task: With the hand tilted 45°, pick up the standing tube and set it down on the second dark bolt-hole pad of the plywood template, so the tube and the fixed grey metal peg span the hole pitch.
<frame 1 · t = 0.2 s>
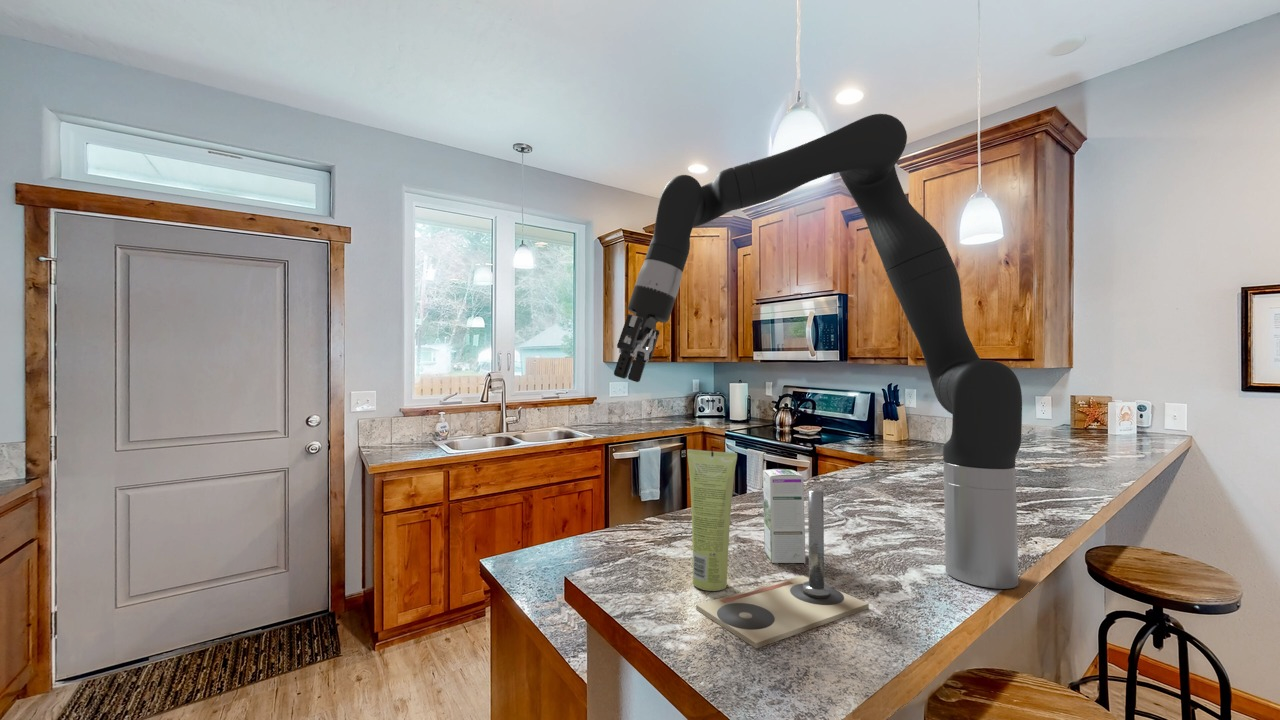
hand: (626, 379, 87), 30 cm above the counter, tool tilted 20°, fingers open, 8 cm apart
tube: (711, 587, 72), on the counter
syrup box: (783, 559, 84), on the counter
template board: (782, 608, 65), on the counter
fixed peg: (816, 598, 68), resting on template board
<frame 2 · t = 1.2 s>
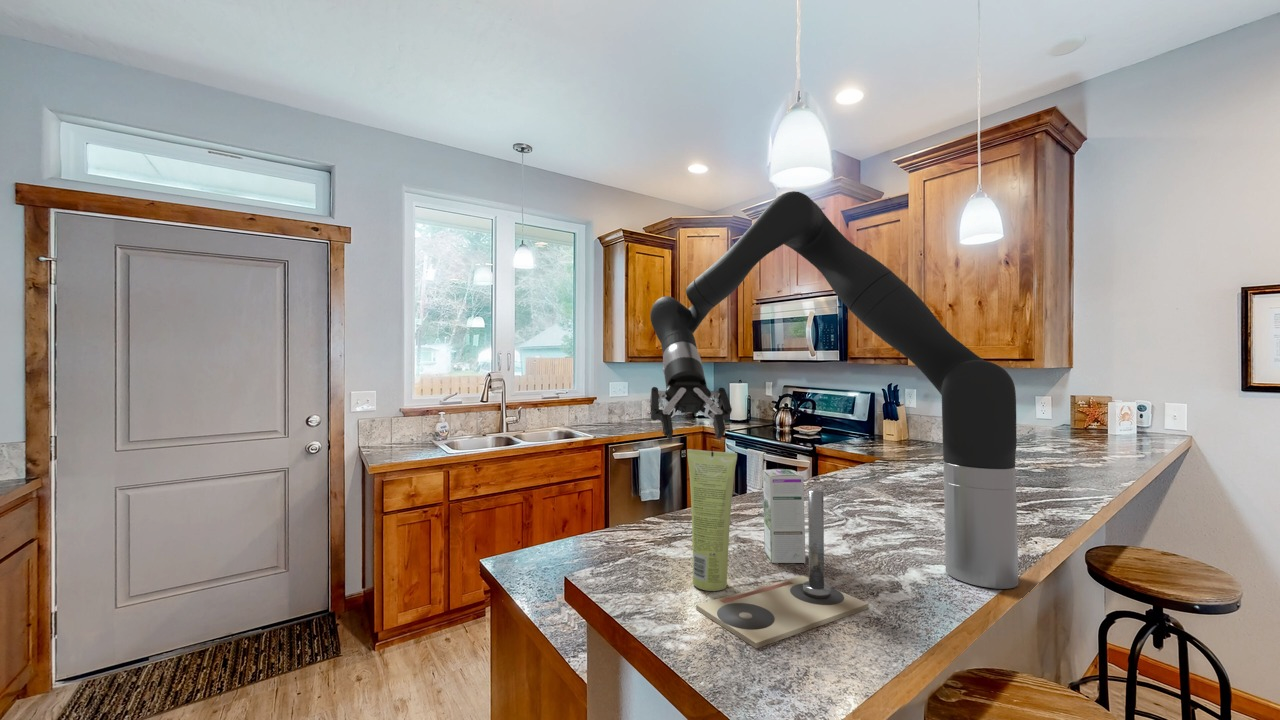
hand: (695, 435, 85), 20 cm above the counter, tool tilted 45°, fingers open, 8 cm apart
nothing on the counter moved.
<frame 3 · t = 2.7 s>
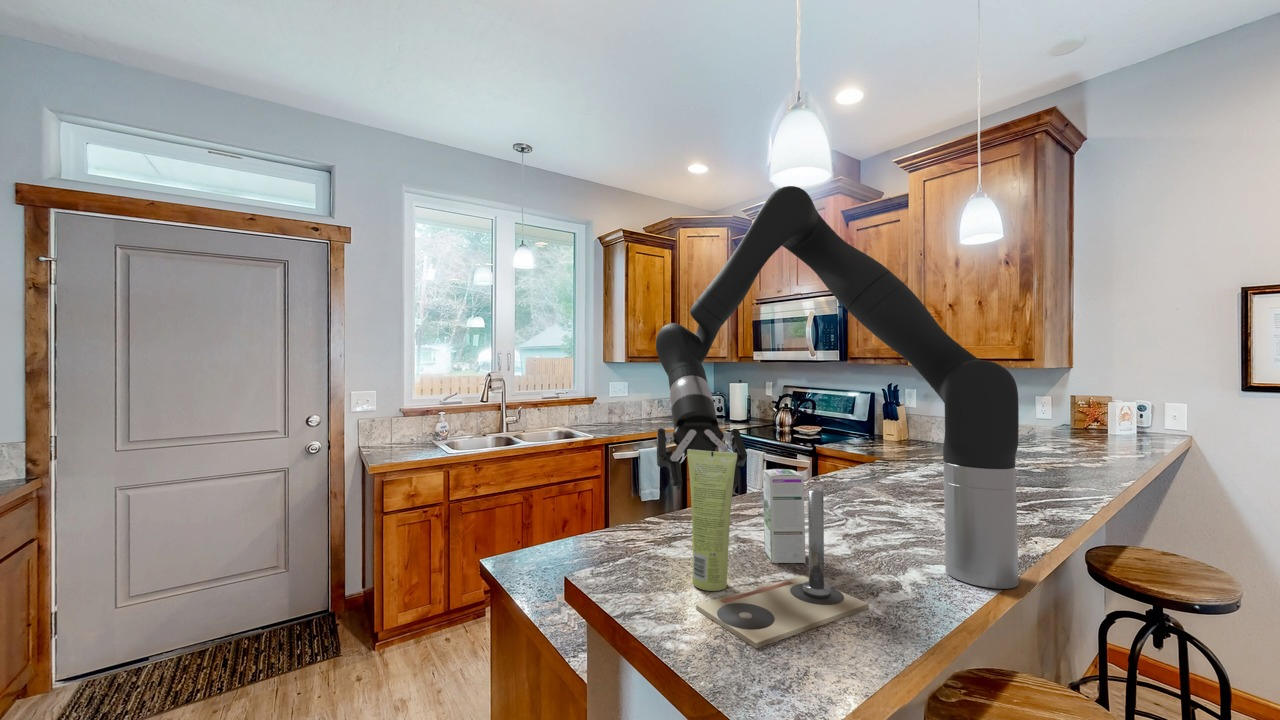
hand: (707, 486, 76), 14 cm above the counter, tool tilted 45°, fingers open, 8 cm apart
nothing on the counter moved.
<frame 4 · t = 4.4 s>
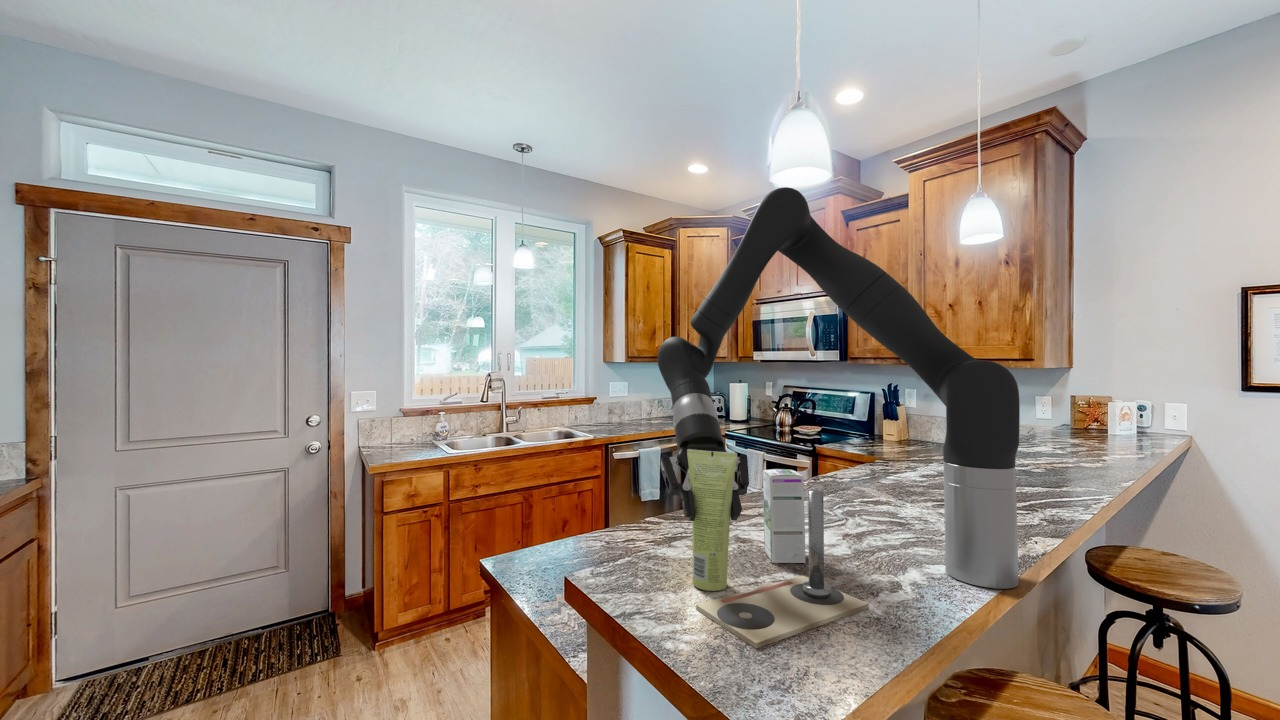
hand: (714, 517, 71), 10 cm above the counter, tool tilted 45°, fingers closed on tube, 5 cm apart
tube: (711, 587, 72), on the counter, touching gripper
everything else where it was.
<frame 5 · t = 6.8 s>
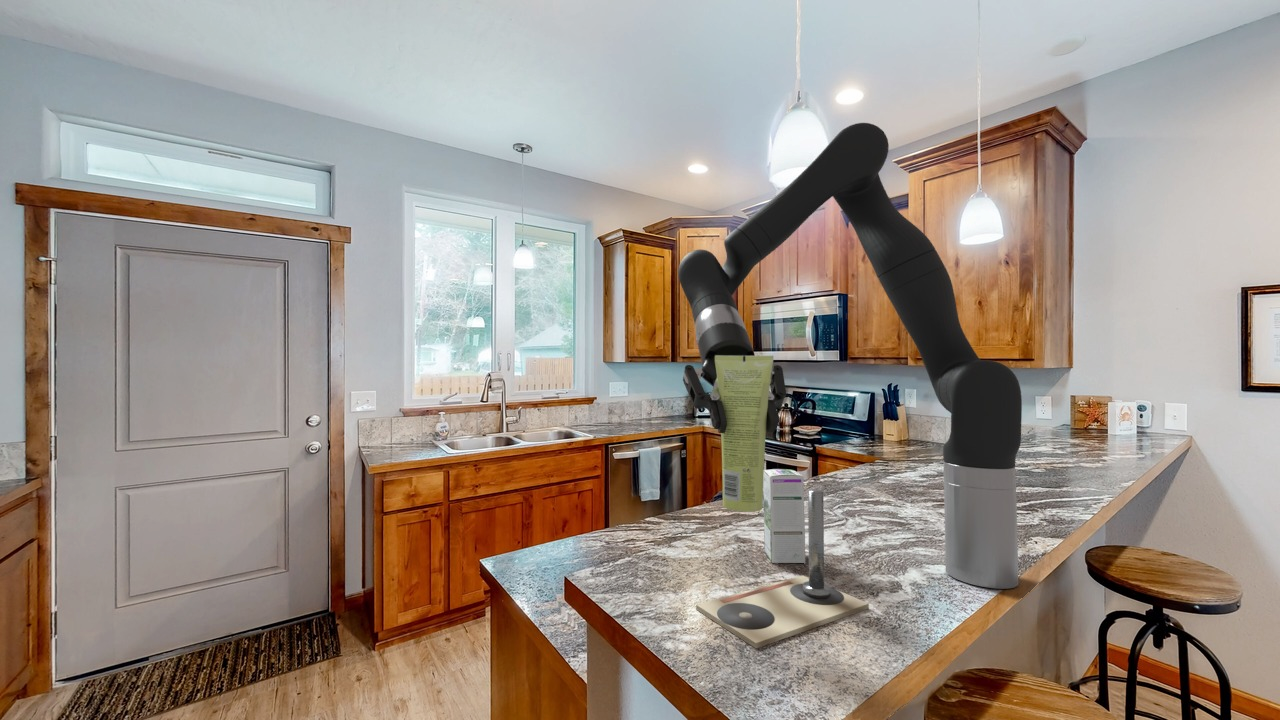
hand: (748, 428, 62), 24 cm above the counter, tool tilted 45°, fingers closed on tube, 5 cm apart
tube: (744, 510, 63), point 13 cm above the counter, touching gripper
everything else where it was.
when the fingers open (12 cm above the counter, at t = 9.6 s): tube drops 1 cm, resting on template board.
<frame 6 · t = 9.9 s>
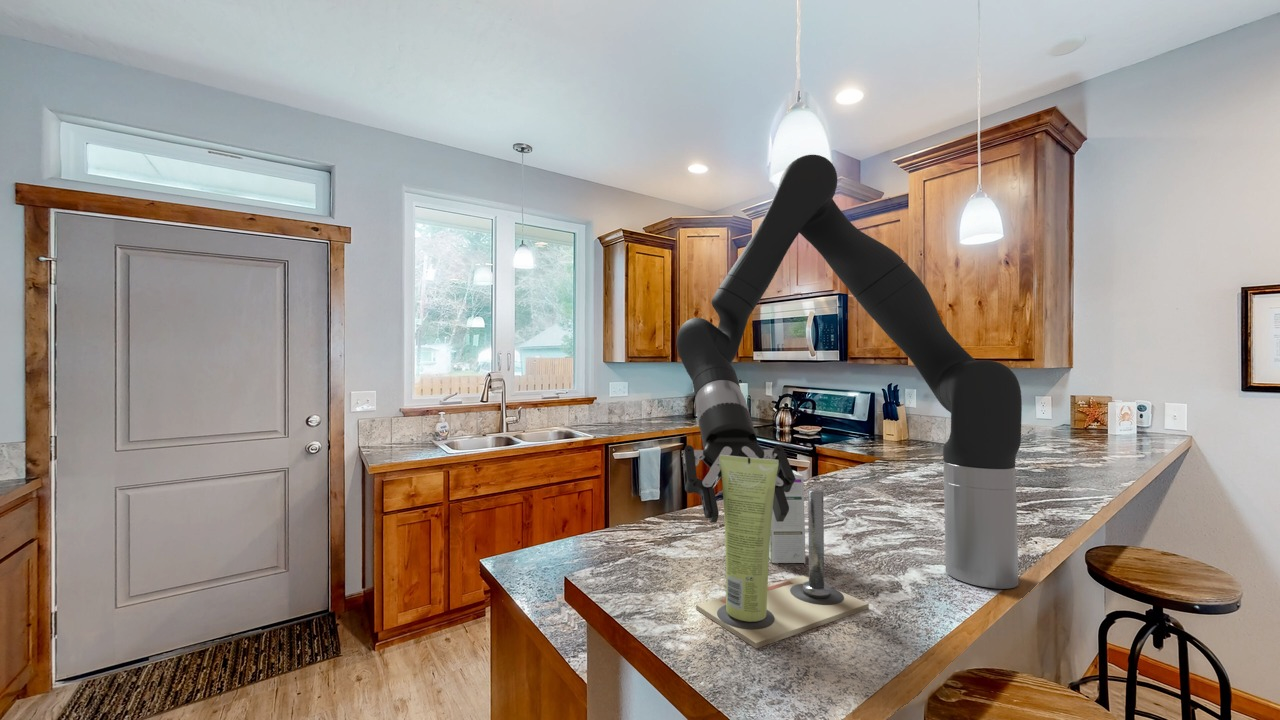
hand: (748, 518, 61), 13 cm above the counter, tool tilted 45°, fingers open, 8 cm apart
tube: (747, 616, 62), resting on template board
everything else where it was.
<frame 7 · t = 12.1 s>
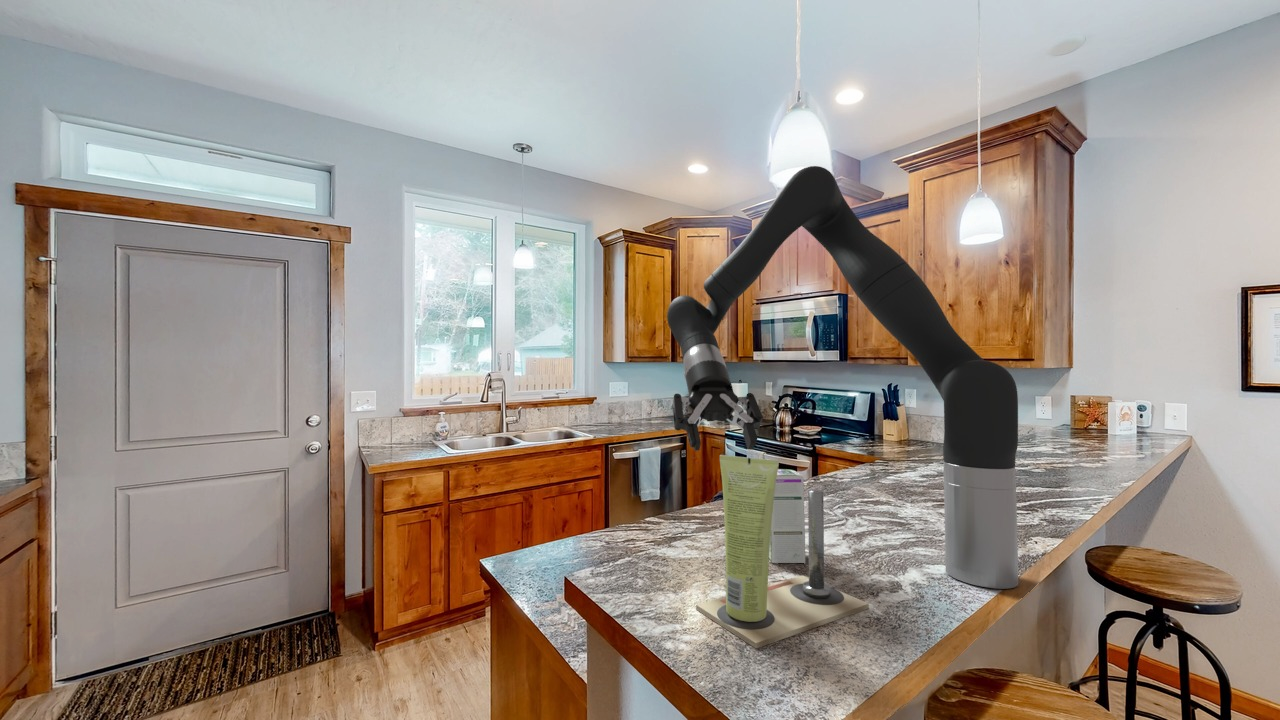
hand: (725, 446, 77), 20 cm above the counter, tool tilted 45°, fingers open, 8 cm apart
nothing on the counter moved.
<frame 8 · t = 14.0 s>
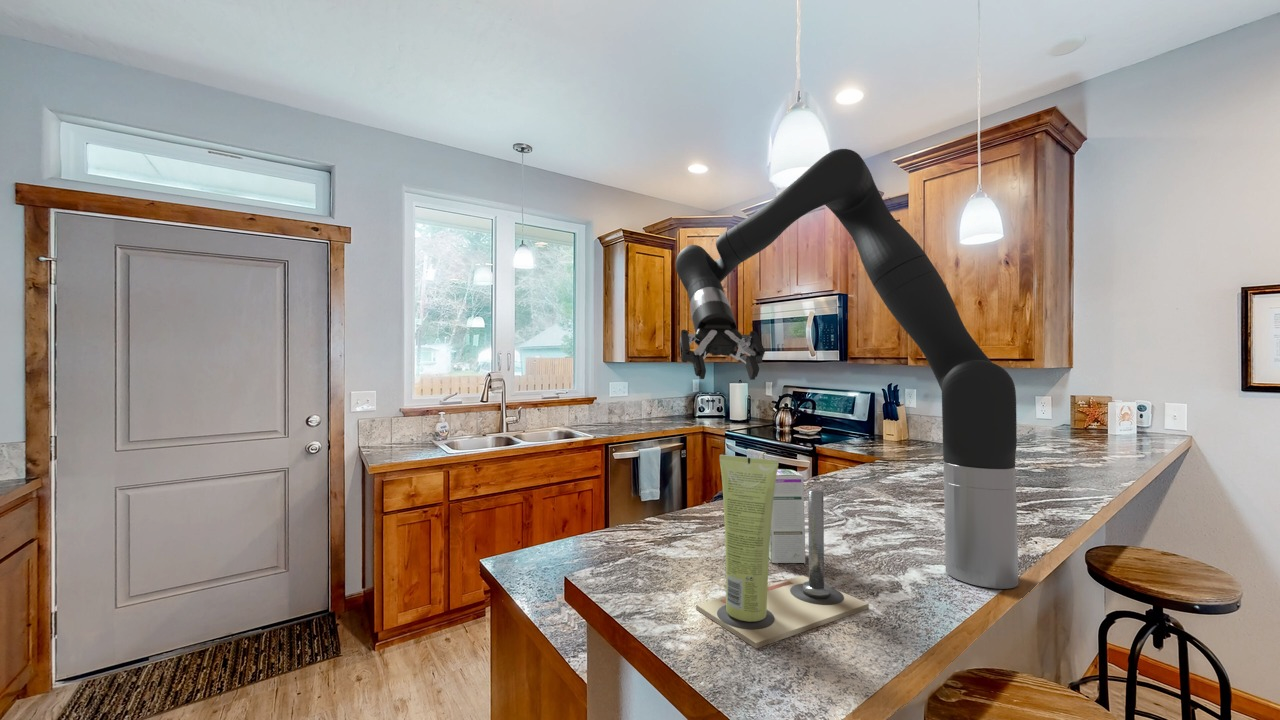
hand: (728, 375, 82), 31 cm above the counter, tool tilted 45°, fingers open, 8 cm apart
nothing on the counter moved.
at the end: tube 0.4 cm from the target spot, resting on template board; tube tilted 1°; the gripper is holding nothing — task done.
